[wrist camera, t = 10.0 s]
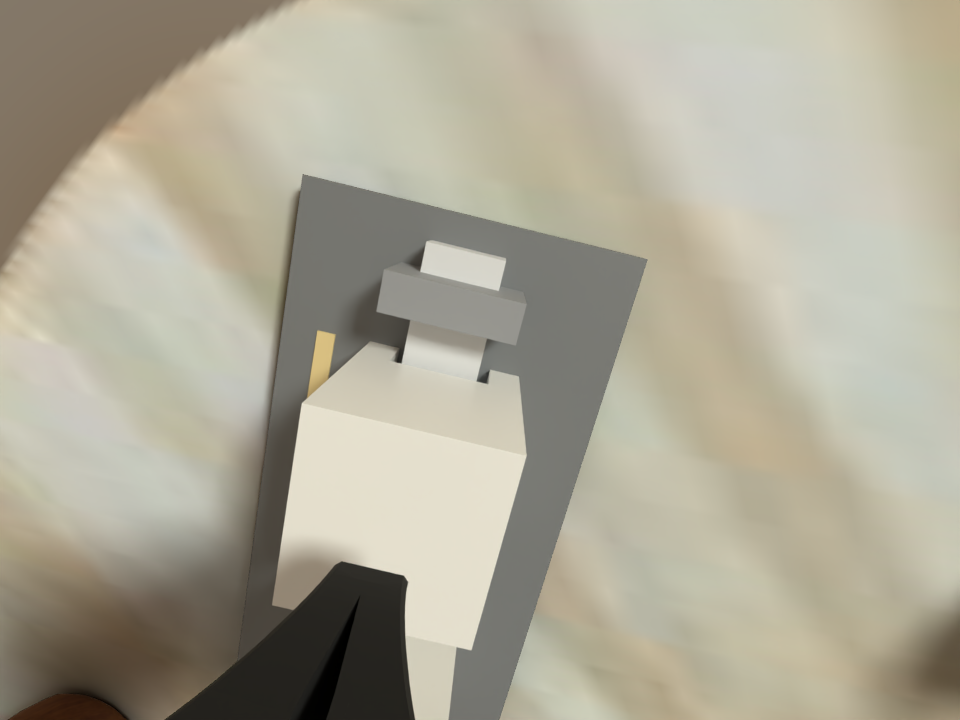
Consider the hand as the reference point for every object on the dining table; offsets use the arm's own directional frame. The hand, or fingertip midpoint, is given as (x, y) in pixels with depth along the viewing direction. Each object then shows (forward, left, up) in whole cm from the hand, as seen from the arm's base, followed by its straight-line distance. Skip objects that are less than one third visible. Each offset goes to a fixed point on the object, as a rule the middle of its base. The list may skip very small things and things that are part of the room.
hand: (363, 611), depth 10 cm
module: (0, 0, -8) cm, 8 cm away
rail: (-3, 0, -9) cm, 10 cm away
